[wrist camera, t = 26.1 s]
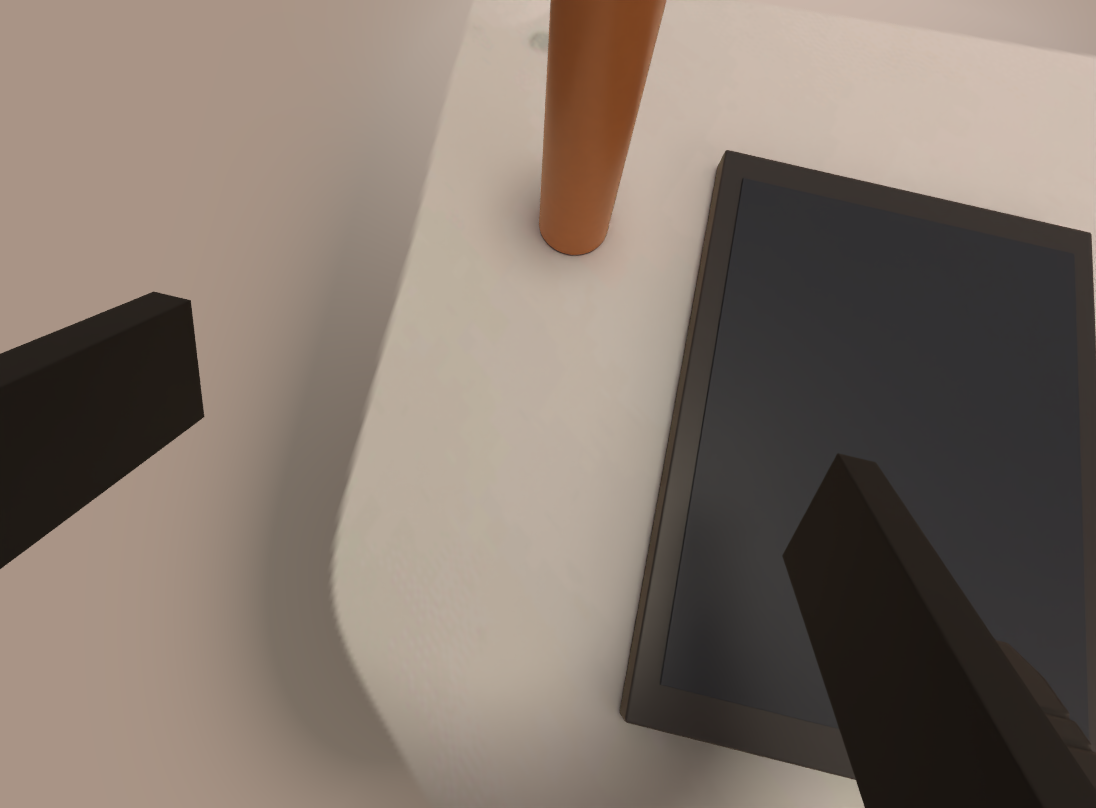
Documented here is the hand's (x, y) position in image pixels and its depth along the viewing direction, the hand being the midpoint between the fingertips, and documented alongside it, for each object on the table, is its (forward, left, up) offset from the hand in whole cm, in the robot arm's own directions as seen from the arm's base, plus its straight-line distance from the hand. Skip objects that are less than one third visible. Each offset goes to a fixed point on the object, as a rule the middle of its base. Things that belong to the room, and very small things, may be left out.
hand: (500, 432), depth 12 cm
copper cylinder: (0, +10, -7) cm, 12 cm away
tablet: (+12, +4, -7) cm, 15 cm away
